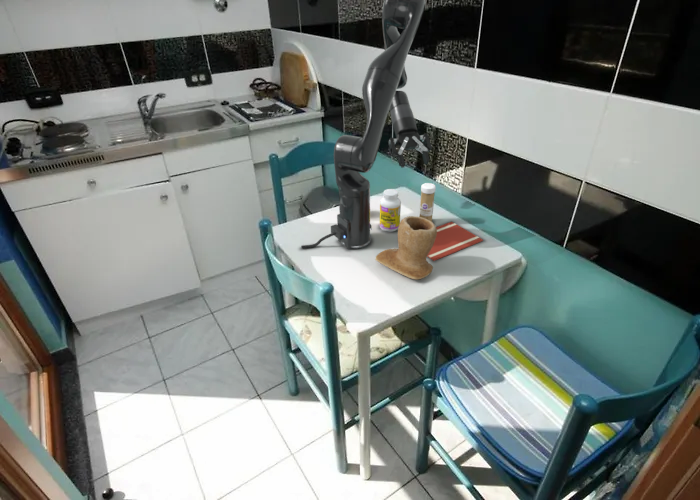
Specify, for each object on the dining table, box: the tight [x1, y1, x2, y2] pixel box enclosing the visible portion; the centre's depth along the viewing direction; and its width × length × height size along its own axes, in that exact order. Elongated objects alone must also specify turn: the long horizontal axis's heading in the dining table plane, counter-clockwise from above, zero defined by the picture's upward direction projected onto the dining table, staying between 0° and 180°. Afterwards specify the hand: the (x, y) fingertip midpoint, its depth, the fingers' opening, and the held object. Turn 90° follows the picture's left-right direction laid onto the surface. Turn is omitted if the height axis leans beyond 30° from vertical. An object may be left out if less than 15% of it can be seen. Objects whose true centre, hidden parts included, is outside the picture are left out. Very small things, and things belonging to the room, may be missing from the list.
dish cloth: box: [427, 221, 484, 262], centre depth 130 cm, size 20×14×1 cm
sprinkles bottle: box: [418, 182, 437, 222], centre depth 136 cm, size 5×5×13 cm
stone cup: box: [374, 215, 437, 281], centre depth 115 cm, size 15×12×15 cm
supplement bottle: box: [379, 188, 402, 233], centre depth 134 cm, size 7×7×13 cm
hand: (415, 165), depth 140 cm, fingers open, 8 cm apart
